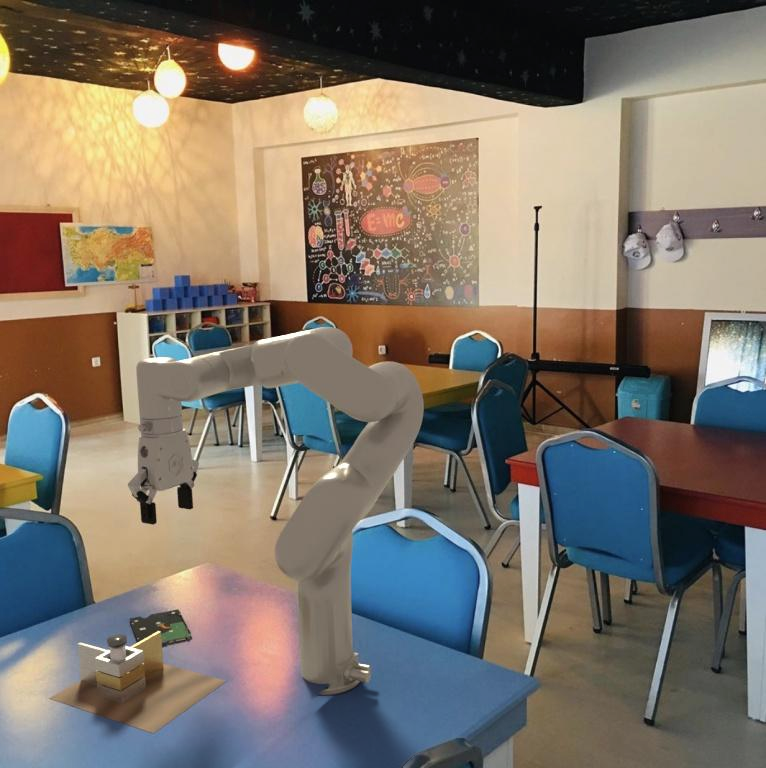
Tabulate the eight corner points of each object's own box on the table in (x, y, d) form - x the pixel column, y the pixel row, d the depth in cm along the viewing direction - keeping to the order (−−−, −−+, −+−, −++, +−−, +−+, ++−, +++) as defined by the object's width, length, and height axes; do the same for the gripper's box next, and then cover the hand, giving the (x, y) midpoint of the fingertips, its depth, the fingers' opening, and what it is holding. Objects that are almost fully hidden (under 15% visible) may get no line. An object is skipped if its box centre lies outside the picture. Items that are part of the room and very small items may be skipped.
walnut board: (227, 689, 147) (226, 681, 147) (154, 741, 131) (153, 733, 131) (127, 660, 158) (127, 653, 158) (49, 706, 143) (49, 698, 142)
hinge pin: (134, 690, 144) (130, 636, 143) (120, 699, 141) (116, 644, 140) (121, 686, 146) (117, 633, 144) (107, 695, 143) (102, 640, 141)
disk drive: (129, 631, 172) (140, 660, 159) (128, 618, 172) (139, 646, 159) (179, 620, 177) (194, 648, 163) (178, 608, 176) (193, 635, 163)
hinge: (173, 670, 151) (171, 634, 150) (121, 703, 140) (118, 665, 139) (123, 656, 157) (120, 621, 156) (69, 687, 146) (66, 649, 145)
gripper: (142, 436, 142) (149, 532, 145) (208, 418, 157) (214, 505, 160) (110, 433, 146) (118, 526, 149) (178, 415, 161) (184, 500, 164)
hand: (167, 515), depth 154 cm, fingers open, 9 cm apart
